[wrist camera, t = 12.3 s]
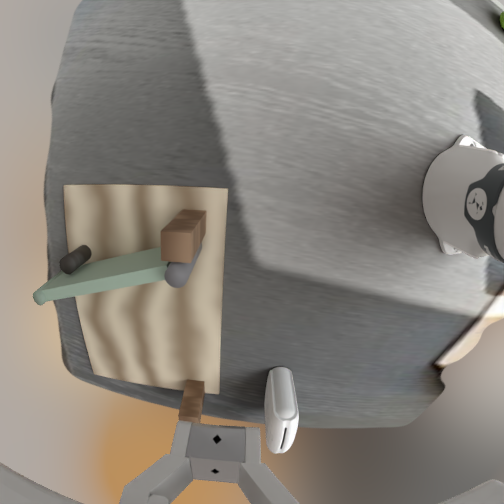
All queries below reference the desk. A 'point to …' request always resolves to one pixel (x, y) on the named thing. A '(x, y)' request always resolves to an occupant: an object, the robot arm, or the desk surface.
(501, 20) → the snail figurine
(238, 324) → the desk surface
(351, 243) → the desk surface
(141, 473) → the robot arm
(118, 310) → the gate frame
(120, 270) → the gate
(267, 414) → the photo printer
